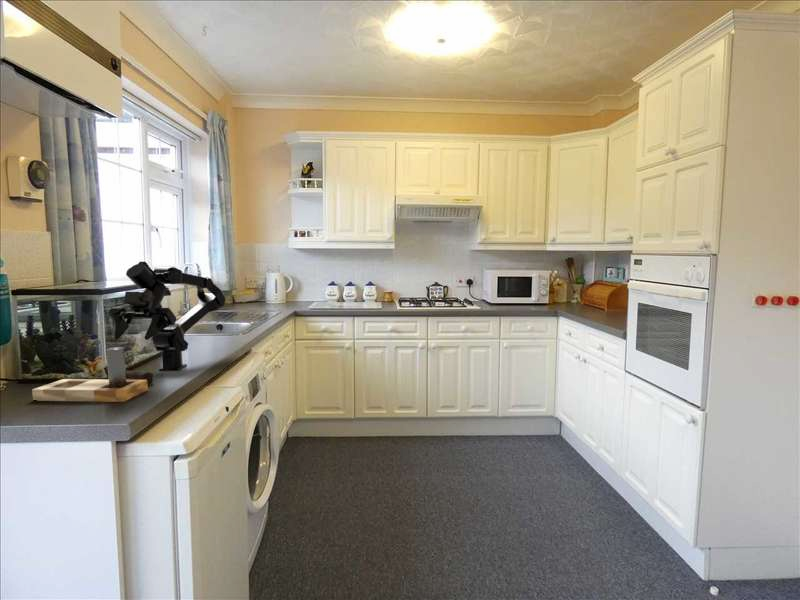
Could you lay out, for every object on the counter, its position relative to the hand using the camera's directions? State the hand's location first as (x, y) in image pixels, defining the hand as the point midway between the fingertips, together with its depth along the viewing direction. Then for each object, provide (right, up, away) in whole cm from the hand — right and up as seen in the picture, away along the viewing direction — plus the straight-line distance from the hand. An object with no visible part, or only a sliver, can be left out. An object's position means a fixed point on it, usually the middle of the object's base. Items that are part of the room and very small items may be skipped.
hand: (130, 339), depth 128 cm
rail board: (-5, -15, -9) cm, 18 cm away
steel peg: (+2, -15, -9) cm, 18 cm away
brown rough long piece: (-4, -14, +3) cm, 15 cm away
